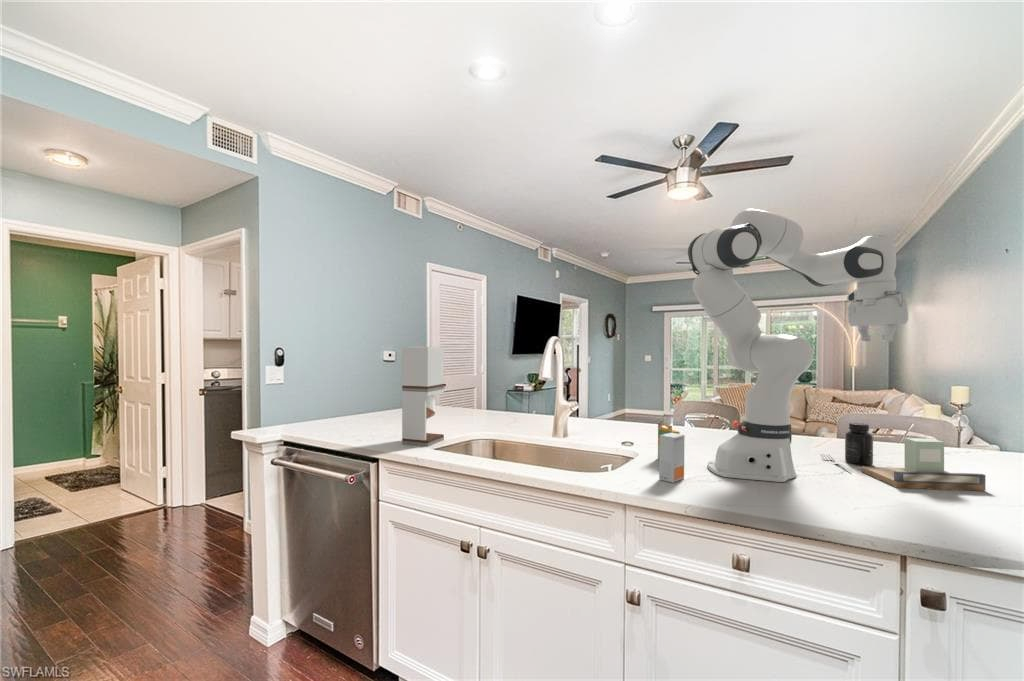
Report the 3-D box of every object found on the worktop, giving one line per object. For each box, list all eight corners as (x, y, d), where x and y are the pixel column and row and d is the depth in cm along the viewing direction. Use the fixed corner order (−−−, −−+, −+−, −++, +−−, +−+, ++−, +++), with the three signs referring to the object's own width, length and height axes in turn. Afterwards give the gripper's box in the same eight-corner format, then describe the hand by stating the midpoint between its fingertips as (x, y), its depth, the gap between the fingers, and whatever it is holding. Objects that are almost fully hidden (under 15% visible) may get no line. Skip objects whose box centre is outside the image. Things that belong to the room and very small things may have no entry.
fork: (859, 482, 121) (859, 475, 121) (818, 459, 145) (818, 453, 145) (873, 482, 121) (873, 476, 121) (830, 459, 144) (830, 454, 144)
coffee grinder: (427, 446, 160) (427, 347, 161) (402, 444, 164) (402, 347, 164) (443, 439, 171) (443, 346, 171) (419, 437, 175) (419, 346, 175)
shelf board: (897, 488, 115) (897, 472, 115) (861, 471, 129) (861, 457, 129) (986, 491, 113) (986, 475, 113) (940, 474, 127) (940, 460, 127)
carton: (944, 481, 116) (944, 442, 116) (916, 480, 117) (916, 441, 117) (931, 476, 120) (931, 438, 120) (904, 475, 121) (904, 438, 121)
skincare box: (673, 483, 119) (673, 437, 119) (658, 479, 122) (658, 435, 122) (685, 478, 123) (685, 434, 123) (670, 475, 126) (670, 432, 126)
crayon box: (680, 463, 138) (680, 425, 138) (671, 464, 137) (671, 426, 137) (665, 457, 145) (665, 421, 145) (657, 458, 144) (657, 422, 144)
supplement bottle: (878, 467, 135) (878, 426, 135) (852, 465, 136) (852, 425, 136) (865, 460, 141) (865, 422, 141) (840, 459, 143) (840, 421, 143)
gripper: (915, 289, 120) (915, 341, 120) (865, 296, 140) (865, 341, 140) (889, 289, 121) (889, 341, 121) (843, 296, 141) (843, 341, 141)
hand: (876, 341), depth 131 cm, fingers open, 8 cm apart
